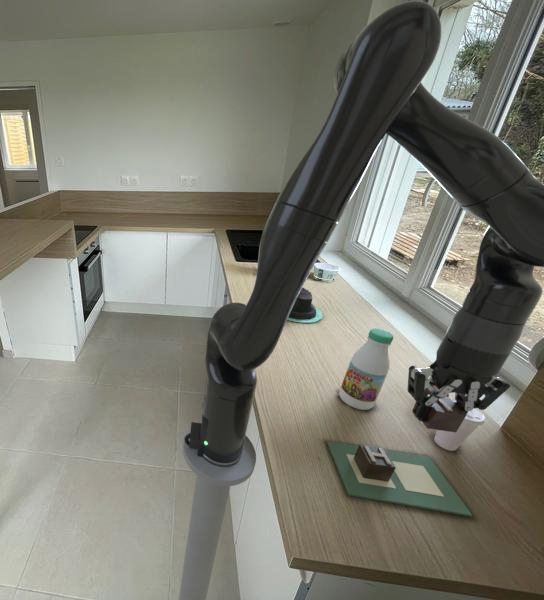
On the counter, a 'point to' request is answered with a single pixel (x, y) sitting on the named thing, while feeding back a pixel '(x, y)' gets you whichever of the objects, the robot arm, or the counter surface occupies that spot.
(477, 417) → the smoothie
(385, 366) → the milk bottle
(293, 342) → the counter surface
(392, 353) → the counter surface
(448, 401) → the tile
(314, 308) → the chocolate cake
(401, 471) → the word mat
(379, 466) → the tile
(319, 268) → the food container
